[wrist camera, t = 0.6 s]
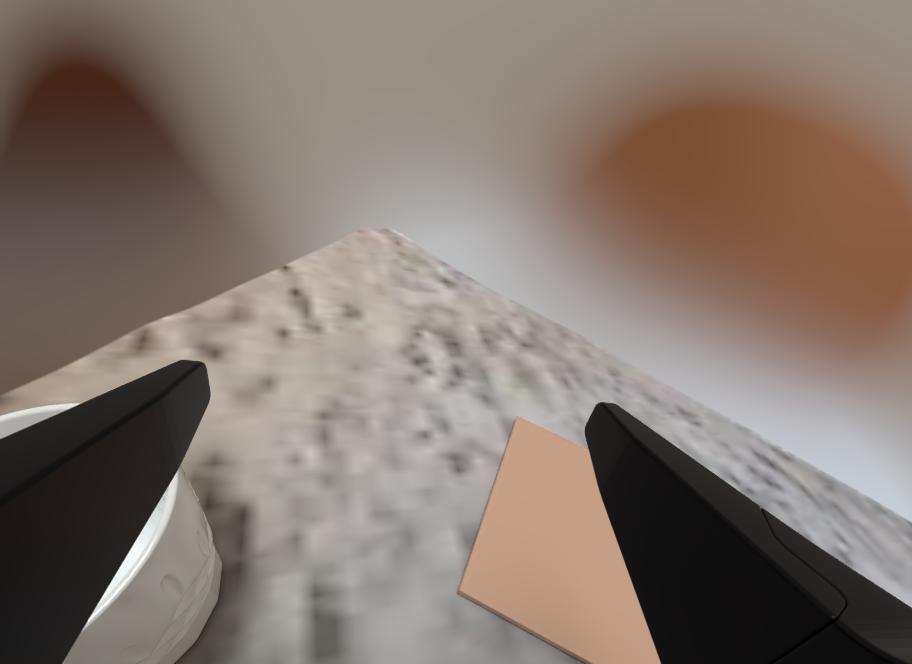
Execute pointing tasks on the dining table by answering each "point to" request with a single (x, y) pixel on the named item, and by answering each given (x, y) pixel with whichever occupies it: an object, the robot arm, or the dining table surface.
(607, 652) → the tile
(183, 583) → the white cup
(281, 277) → the dining table surface
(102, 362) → the dining table surface
